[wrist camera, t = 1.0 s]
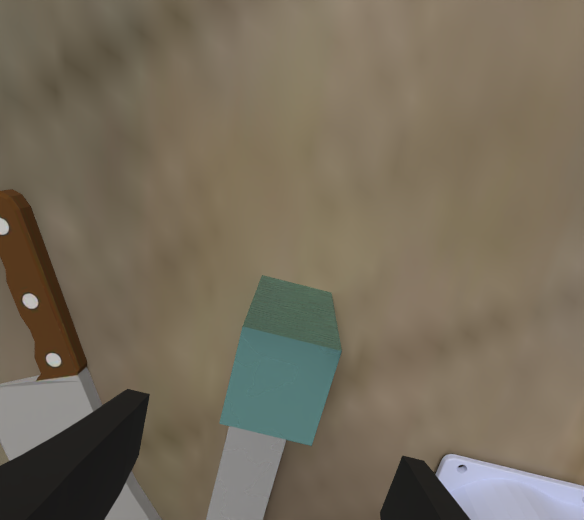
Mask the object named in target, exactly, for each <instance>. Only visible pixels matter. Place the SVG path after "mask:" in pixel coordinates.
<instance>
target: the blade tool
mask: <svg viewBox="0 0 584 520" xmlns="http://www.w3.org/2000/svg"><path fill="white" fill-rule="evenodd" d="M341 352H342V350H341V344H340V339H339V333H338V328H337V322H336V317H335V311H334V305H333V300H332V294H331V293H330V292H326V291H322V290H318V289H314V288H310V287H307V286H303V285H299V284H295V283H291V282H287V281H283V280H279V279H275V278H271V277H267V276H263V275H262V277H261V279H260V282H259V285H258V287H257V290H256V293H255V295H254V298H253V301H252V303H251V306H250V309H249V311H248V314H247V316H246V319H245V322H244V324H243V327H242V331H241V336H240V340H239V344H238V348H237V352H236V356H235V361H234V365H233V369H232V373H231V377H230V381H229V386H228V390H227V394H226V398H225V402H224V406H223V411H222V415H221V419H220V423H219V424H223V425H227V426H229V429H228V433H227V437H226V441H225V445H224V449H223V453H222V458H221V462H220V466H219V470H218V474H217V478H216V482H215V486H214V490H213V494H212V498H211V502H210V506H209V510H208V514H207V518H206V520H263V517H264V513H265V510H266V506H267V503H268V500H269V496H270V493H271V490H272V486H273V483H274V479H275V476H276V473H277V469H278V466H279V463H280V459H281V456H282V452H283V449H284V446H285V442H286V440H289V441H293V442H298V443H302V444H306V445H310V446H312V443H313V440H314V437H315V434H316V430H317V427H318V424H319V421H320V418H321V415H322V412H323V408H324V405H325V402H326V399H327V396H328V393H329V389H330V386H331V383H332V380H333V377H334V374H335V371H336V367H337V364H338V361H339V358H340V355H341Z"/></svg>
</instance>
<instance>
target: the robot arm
mask: <svg viewBox="0 0 584 520" xmlns="http://www.w3.org/2000/svg"><path fill="white" fill-rule="evenodd" d="M149 395H150V394H147V393H142V392H138V391H134V390H130V389H127V390H125V391H123V392H122V393H120V394H119V395H117V396H116V397H114V398H113V399H111V400H110V401H108V402H107V403H105V404H104V405H102V406H101V407H99V408H98V409H96V410H95V411H93V412H92V413H90V414H89V415H87V416H86V417H84V418H83V419H81V420H79V421H78V422H76V423H75V424H73V425H71V426H70V427H68V428H67V429H65V430H63V431H62V432H60V433H59V434H57V435H55V436H54V437H52V438H50V439H48V440H47V441H45V442H43V443H41V444H39V445H38V446H36V447H34V448H32V449H31V450H29V451H27V452H25V453H24V454H22V455H20V456H18V457H16V458H14V459H12V460H10V461H9V462H7V463H5V464H3V465H1V466H0V520H105V518H106V516H107V515H108V513H109V511H110V510H111V508H112V506H113V505H114V503H115V501H116V500H117V498H118V496H119V495H120V493H121V491H122V489H123V487H124V485H125V483H126V481H127V479H128V477H129V475H130V473H131V470H132V468H133V466H134V464H135V462H136V460H137V458H138V455H139V450H140V445H141V439H142V434H143V428H144V423H145V417H146V412H147V406H148V401H149ZM459 465H463V466H462V467H458V466H459ZM380 516H381V520H584V486H582V485H577V484H573V483H569V482H565V481H561V480H557V479H553V478H549V477H545V476H541V475H537V474H533V473H528V472H524V471H520V470H516V469H512V468H508V467H504V466H500V465H496V464H492V463H488V462H484V461H479V460H475V459H471V458H467V457H463V456H459V455H455V454H448V455H446V456H444V457H443V459H442V460H441V463H440V465H439V467H438V470H437V472H436V474H434V472H433V471H432V470H431V469H430V468H429V466H428V465H427V464H426V463H425V462H424V461H423V460H418V459H414V458H410V457H406V456H402V458H401V461H400V464H399V466H398V469H397V471H396V474H395V476H394V479H393V481H392V484H391V486H390V489H389V491H388V494H387V497H386V499H385V502H384V504H383V507H382V509H381V512H380Z"/></svg>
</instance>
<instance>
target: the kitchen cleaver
mask: <svg viewBox="0 0 584 520" xmlns="http://www.w3.org/2000/svg"><path fill="white" fill-rule="evenodd" d="M0 257H1V259H2V262H3V264H4V267H5V269H6V280H7V284H8V286H9V289H10V291H11V294H12V296H13V299H14V301H15V303H16V306H17V308H18V311H19V313H20V316H21V317H22V319H23V320H24V322H25V323H26V325H27V326H28V327H29V329H30V331H31V333H32V336H33V338H34V341H35V360H36V362H37V365H38V367H39V369H40V372H41V375H38V376H34V377H29V378H25V379H20V380H16V381H11V382H7V383H2V384H0V443H1V445H2V447H3V449H4V451H5V453H6V455H7V457H8V459H9V461H10V460H12V459H14V458H16V457H18V456H20V455H22V454H24V453H25V452H27V451H29V450H31V449H32V448H34V447H36V446H38V445H39V444H41V443H43V442H45V441H47V440H48V439H50V438H52V437H54V436H55V435H57V434H59V433H60V432H62V431H63V430H65V429H67V428H68V427H70V426H71V425H73V424H75V423H76V422H78V421H79V420H81V419H83V418H84V417H86V416H87V415H89V414H90V413H92V412H93V411H95V410H96V409H98V408H99V407H101V406H102V403H101V401H100V398H99V396H98V393H97V391H96V388H95V386H94V383H93V381H92V378H91V376H90V373H89V371H88V369H87V360H86V357H85V355H84V352H83V349H82V346H81V344H80V341H79V338H78V335H77V333H76V330H75V327H74V324H73V322H72V319H71V316H70V313H69V310H68V308H67V305H66V302H65V299H64V297H63V294H62V291H61V288H60V286H59V283H58V280H57V277H56V275H55V272H54V269H53V266H52V264H51V261H50V258H49V255H48V253H47V250H46V247H45V244H44V242H43V239H42V236H41V233H40V231H39V228H38V225H37V222H36V220H35V217H34V214H33V212H32V209H31V206H30V205H29V204H28V202H27V201H26V199H25V198H24V197H23V195H22V194H20V193H18V192H16V191H14V190H4V191H0ZM105 520H162V519H161V518H160V516H159V514H158V513H157V511H156V510H155V508H154V507H153V505H152V504H151V502H150V501H149V499H148V497H147V496H146V494H145V493H144V491H143V490H142V488H141V487H140V485H139V483H138V482H137V480H136V479H135V477H134V475H133V473H132V471H131V473H130V475H129V477H128V479H127V481H126V483H125V485H124V487H123V489H122V491H121V493H120V495H119V496H118V498H117V500H116V501H115V503H114V505H113V506H112V508H111V510H110V511H109V513H108V515H107V516H106V518H105Z"/></svg>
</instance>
